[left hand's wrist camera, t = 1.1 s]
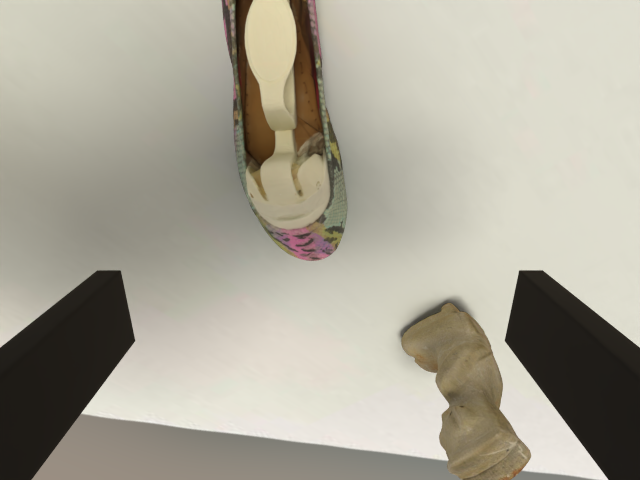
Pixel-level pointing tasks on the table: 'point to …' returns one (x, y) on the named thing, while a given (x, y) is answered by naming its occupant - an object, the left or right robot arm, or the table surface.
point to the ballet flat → (285, 125)
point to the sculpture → (467, 396)
